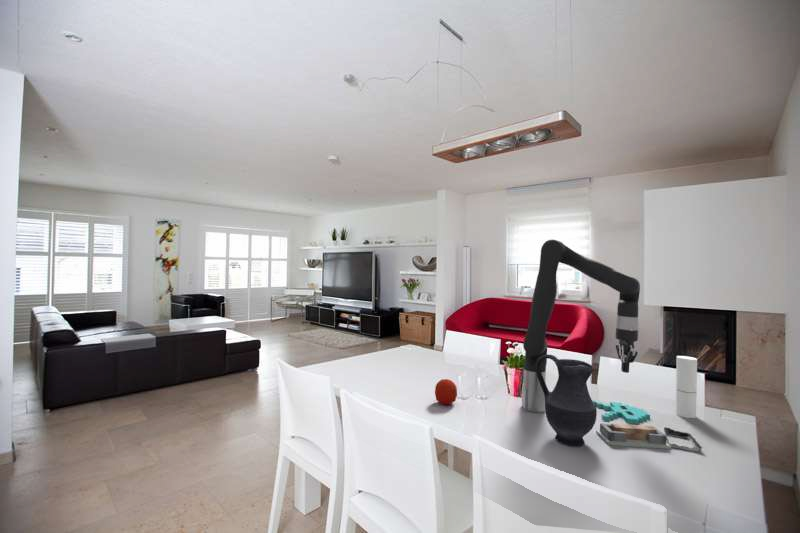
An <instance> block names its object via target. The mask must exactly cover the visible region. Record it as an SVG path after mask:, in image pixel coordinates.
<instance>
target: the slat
mask: <svg viewBox="0 0 800 533" xmlns="http://www.w3.org/2000/svg"><path fill="white" fill-rule="evenodd" d="M610 424H611V430H612V431H622V432H625V433H626V439H630V440H645V441H647V437H648V433H654V434H657V430H658V429H657V428H656V427H655V428H656V429H657V430H656V429H655V428H653V427H654V426H653V425H643V424H642V425H639V424H623V423H610Z"/></svg>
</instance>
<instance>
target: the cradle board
mask: <svg viewBox="0 0 800 533" xmlns="http://www.w3.org/2000/svg"><path fill="white" fill-rule="evenodd" d="M595 434H597V435H598V436H599V437H600V438H601V439H602V440H603V441H604V443H606V444H607V445H609V446H620V447H621V446H622V447H623V446H624V447H635V448H637V447H638V448H639V447H640V448H650V449H651V448H652V449H653V448H655V449H665V450H667V449H668V450H671V449H672V447H671V446H670V445H669V444H670V443H669V442H668V443H667V442H666V444H651V443H649V442H647V441H645V440H630V439H626V442H620V441H609V440H608V439H607V438H606V437H605V436H604V435H603V434H602V433H601V432H600V429H596V430H595Z"/></svg>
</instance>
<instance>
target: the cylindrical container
mask: <svg viewBox="0 0 800 533" xmlns="http://www.w3.org/2000/svg"><path fill="white" fill-rule="evenodd" d="M675 362H676V363H675V364H676V371H675V372H676V374H675V375H676V376H675V415H677V416H679V417H682V418H686V419H692V418H693V419H696V418H697V397H698V396H697V395H698V394H697V393H698V392H697V391H698V390H697V389H698V384H697V383H698V358H697V357H693V356H688V355H676V361H675Z"/></svg>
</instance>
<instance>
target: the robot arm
mask: <svg viewBox="0 0 800 533" xmlns="http://www.w3.org/2000/svg"><path fill="white" fill-rule="evenodd" d="M539 257H540V258H539V269H538V273H537V276H536V281H535V286H534V290H533V293H532V294H533V295H532V299H531V305H530V306H531V307H530V315H529V322H528V327H527V330H526V333H525V336H524V339H523V344H522V345H523V349H524V352H525V356H524V361H523V362H524V363H523V383H522V385H521V386H522V387H521V406H522V408H523V410H524V411H528V412H533V413H543V412H545V396H544V392H543V390H542V388H541V385H540V383H539V380H538V377H537V374H536V370H535V364H536V361H537V359H538V358H539V357H541V356H543V355H548V341H547V338H546V332H547V326H548V324H549V322H550V318H551V317H552V313H553V312H554V308H555V304H556V298H557V289H558V288H557V286H558V285H557V271H558V268H559V264H563V265H566V266H569V267H572V268H574V269H575V270H577V271H579V272H581V273H582V274H584V275H586V276H587V277H589V278H591V279H593V280H595V281H597V282H598V283H599V282H600V283H602V284H604V285H606V286H608V287H610V288H611V289H613V290H615V291H616V292H619V296H618V297H619V300H618V303H617V308H616V309H617V313H616V314H617V315H616V321H615V339H616V340H617V341H618V340H619V341H618V344H615V350H616V353H617V356H618V360H620V362H621V369H620V371H621V372H622V373H627V374H628V373H630V364H633V363H634V361H635V359H636V358H637V355H638V351H636V350H634V349H635V344H634V343H635V342H638V341H639V301H640V300H639V299H640V292H641V283H640V281H639V280H638V279H637V278H635V277H634V276H629V275H626V274H624V273H622V272H619V271H617V270H615V269H614V268H613V267H611V266H609V265H606V264H604V263H603V262H600V261H597V260H595V259H592V258H589V257H587V256H584V255H582V254H580V253H578V252H576V251H575V250H573V249H571V248H570V247H568V246H567V245H566V244H564V243H563V242H562V241H560V240H557V239H552V238H551V239H548V240H546V241H545V242H544V243H543V244H542V245H541V249H540V256H539ZM547 362H548V358H547V359H544V360H542V361H541V362H540V371H541V374H542V376H543V379H544V381H545V383H546V378H547V376H546V375H547V372H546V371H547V364H548V363H547Z"/></svg>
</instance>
